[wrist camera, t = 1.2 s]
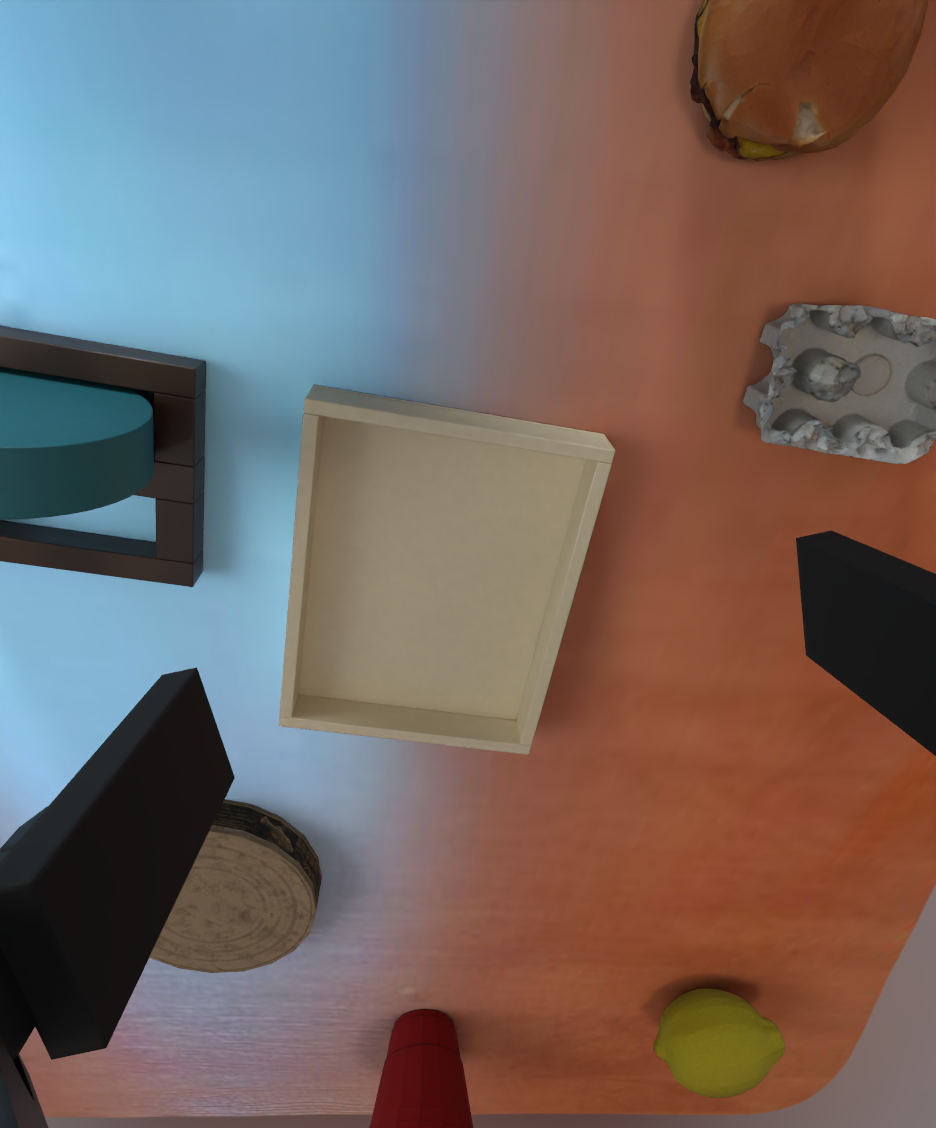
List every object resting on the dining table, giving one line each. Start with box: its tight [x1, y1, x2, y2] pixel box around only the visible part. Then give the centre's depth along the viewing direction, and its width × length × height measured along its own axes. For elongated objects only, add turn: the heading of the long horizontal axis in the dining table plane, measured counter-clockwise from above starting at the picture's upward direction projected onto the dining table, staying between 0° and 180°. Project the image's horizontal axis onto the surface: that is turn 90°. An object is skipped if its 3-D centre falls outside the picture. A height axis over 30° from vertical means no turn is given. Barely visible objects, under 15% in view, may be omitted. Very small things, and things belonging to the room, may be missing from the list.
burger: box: [690, 0, 928, 161], centre depth 31 cm, size 10×9×5 cm
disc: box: [0, 367, 154, 519], centre depth 34 cm, size 12×3×12 cm, turn 80°
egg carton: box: [743, 303, 936, 464], centre depth 38 cm, size 11×8×4 cm
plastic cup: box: [369, 1010, 473, 1128], centre depth 62 cm, size 11×11×12 cm
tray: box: [279, 385, 615, 755], centre depth 44 cm, size 22×17×3 cm
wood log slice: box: [149, 800, 321, 973], centre depth 55 cm, size 16×16×3 cm
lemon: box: [654, 989, 785, 1098], centre depth 63 cm, size 11×8×8 cm
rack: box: [0, 326, 206, 587], centre depth 40 cm, size 14×13×2 cm
